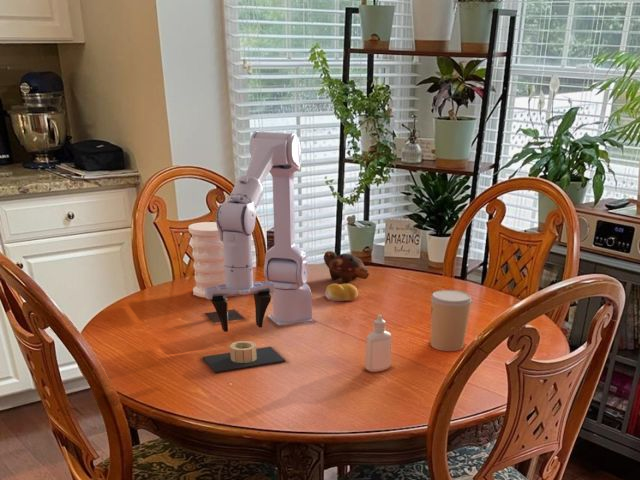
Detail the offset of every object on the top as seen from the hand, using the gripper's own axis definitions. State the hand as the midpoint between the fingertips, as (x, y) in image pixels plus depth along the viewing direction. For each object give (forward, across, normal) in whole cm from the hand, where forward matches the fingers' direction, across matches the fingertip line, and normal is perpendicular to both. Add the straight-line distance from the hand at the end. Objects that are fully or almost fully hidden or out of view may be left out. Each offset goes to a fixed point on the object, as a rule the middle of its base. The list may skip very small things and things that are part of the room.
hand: (242, 328), depth 154 cm
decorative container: (+8, +7, +50) cm, 51 cm away
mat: (+7, 0, 0) cm, 7 cm away
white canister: (+7, +47, -9) cm, 49 cm away
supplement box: (+8, +27, +52) cm, 59 cm away
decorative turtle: (+8, +47, +50) cm, 69 cm away
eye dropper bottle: (+7, +26, -15) cm, 31 cm away
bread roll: (+8, +39, +34) cm, 52 cm away
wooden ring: (+7, 0, 0) cm, 7 cm away
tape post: (+7, +4, +29) cm, 30 cm away
